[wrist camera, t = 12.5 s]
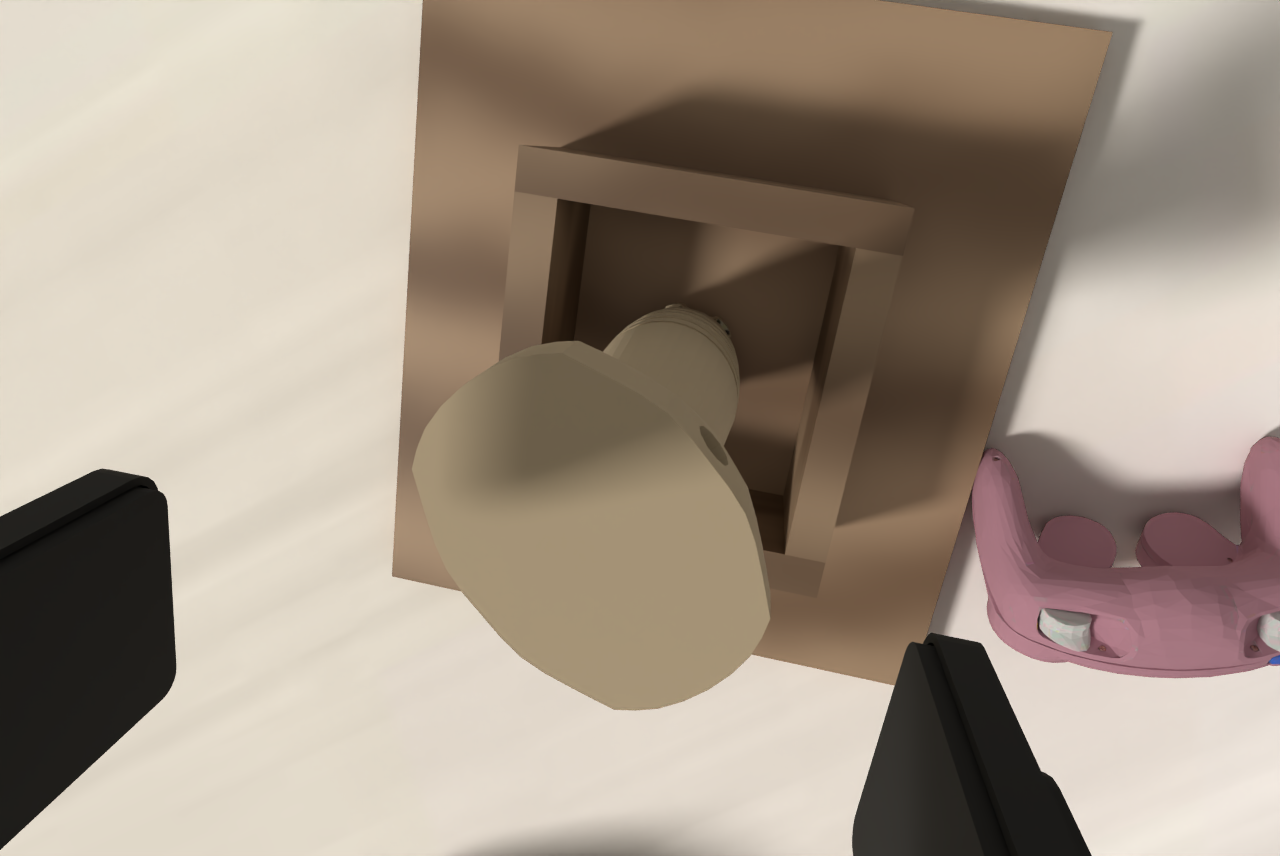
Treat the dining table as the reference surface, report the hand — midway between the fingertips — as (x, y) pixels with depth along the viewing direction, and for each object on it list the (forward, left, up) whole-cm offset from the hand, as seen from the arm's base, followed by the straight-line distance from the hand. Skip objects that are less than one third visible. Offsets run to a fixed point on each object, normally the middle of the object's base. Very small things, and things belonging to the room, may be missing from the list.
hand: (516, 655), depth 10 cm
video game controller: (+4, +16, -20) cm, 25 cm away
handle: (0, 0, -19) cm, 19 cm away
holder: (0, 0, -19) cm, 19 cm away
